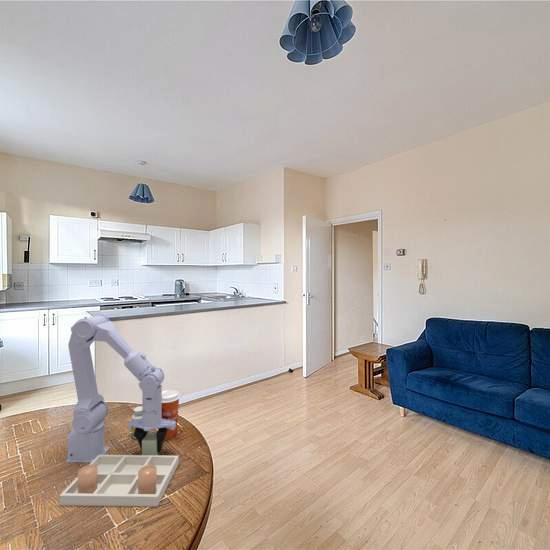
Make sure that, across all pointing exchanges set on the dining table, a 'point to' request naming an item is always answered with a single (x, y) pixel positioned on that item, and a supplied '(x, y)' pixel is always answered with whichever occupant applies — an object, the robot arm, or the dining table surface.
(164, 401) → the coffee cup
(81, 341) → the robot arm
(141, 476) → the tan rounded capsule part
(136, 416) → the supplement bottle
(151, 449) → the pale green block
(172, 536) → the dining table surface
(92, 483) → the tan rounded cylinder
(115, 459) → the white compartment tray
